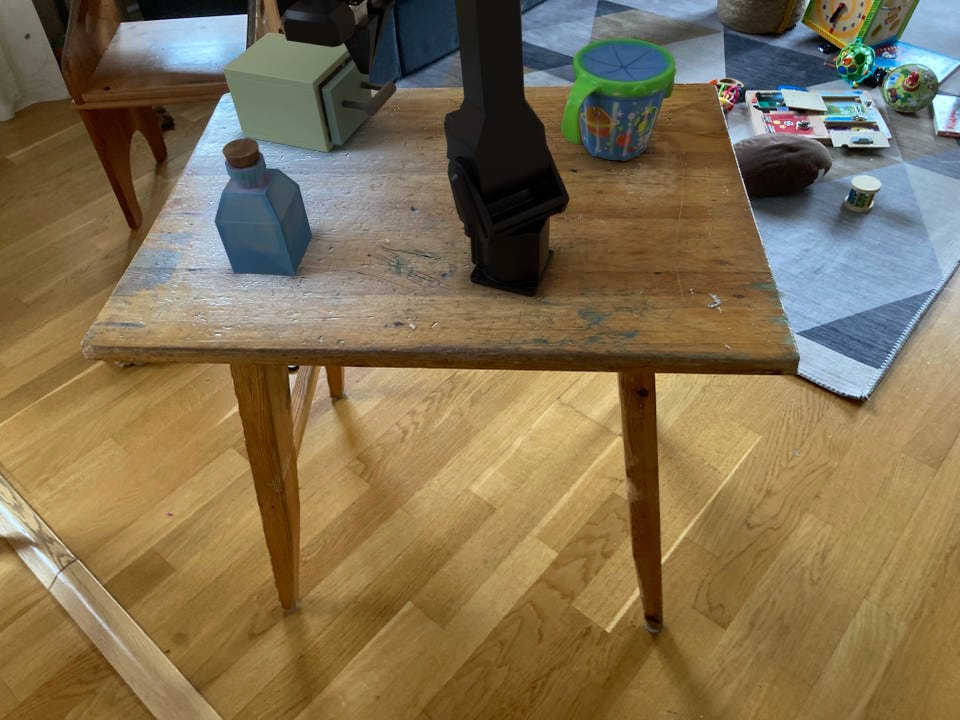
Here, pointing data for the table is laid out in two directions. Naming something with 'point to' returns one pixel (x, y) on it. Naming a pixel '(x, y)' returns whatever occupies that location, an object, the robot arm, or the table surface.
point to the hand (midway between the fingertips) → (365, 72)
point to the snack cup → (617, 96)
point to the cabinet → (283, 90)
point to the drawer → (350, 100)
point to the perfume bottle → (260, 214)
